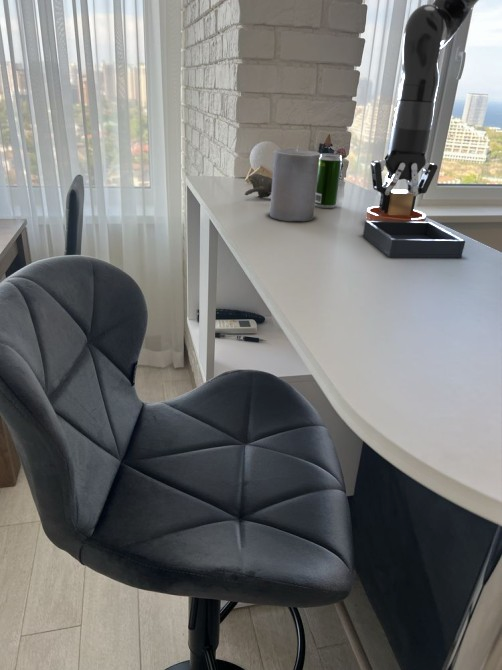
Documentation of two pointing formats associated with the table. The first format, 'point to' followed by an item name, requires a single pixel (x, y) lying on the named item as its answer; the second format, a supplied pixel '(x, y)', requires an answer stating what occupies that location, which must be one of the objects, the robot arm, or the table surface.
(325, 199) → the beer can
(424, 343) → the table surface
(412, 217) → the plate
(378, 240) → the tray
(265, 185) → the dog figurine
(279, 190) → the pillar candle
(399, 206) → the block
